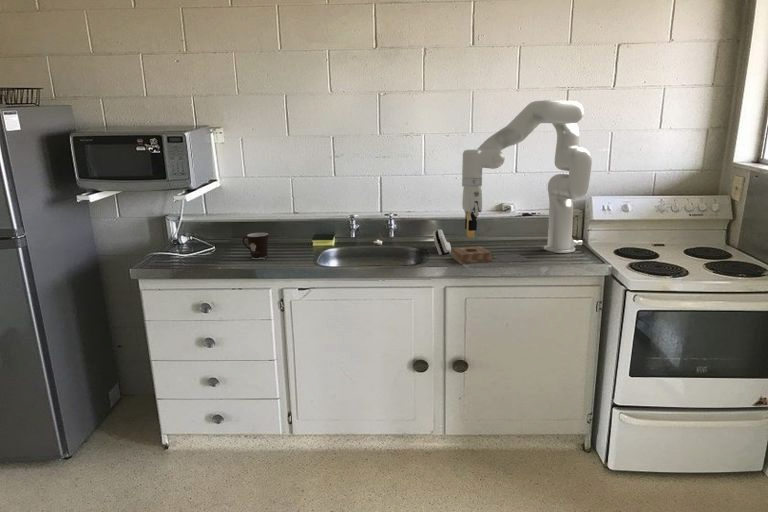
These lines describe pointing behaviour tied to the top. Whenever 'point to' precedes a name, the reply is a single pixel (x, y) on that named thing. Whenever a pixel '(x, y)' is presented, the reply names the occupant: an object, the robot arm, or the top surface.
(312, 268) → the top surface
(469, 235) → the peg
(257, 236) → the coffee mug
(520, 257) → the mat
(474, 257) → the hole block
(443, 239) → the white plastic device case
